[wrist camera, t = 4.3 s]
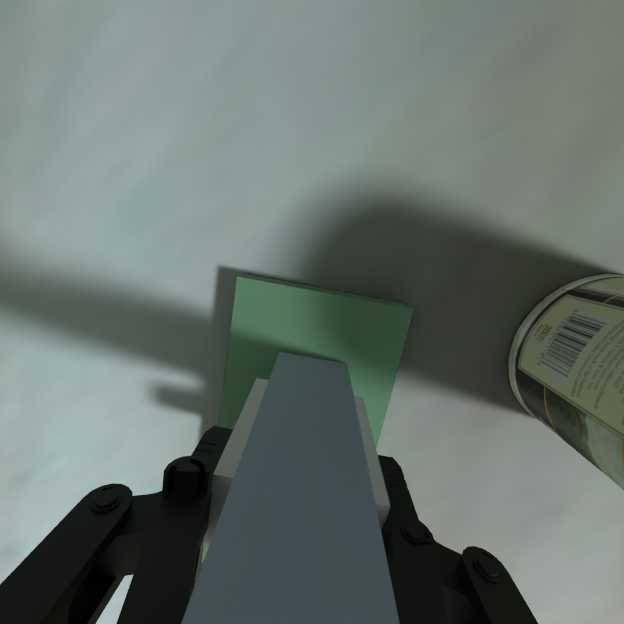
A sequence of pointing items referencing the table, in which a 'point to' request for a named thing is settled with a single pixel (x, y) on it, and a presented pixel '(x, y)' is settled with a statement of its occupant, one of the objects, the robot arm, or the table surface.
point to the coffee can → (576, 368)
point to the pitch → (312, 341)
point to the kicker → (298, 513)
